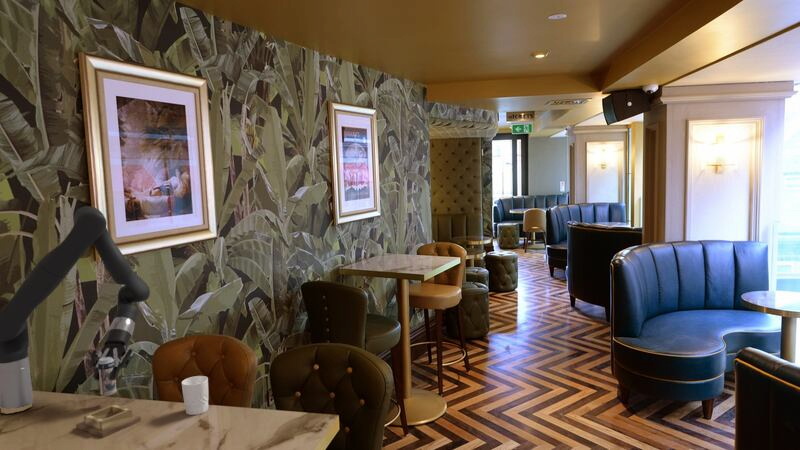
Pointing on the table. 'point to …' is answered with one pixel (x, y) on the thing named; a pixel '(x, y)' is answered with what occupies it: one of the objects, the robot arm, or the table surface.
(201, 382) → the white cup
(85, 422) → the caddy
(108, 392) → the beer can
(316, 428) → the table surface
